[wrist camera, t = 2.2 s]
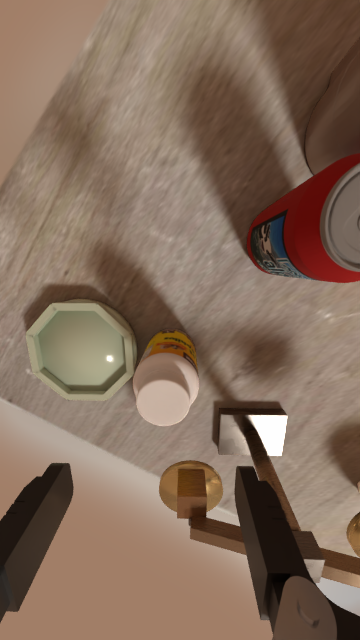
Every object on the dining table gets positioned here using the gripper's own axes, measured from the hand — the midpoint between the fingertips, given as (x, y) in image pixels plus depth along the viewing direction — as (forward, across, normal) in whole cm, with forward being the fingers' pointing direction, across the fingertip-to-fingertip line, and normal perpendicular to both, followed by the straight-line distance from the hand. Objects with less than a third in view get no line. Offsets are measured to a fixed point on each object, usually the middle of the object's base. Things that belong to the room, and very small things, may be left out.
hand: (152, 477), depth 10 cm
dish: (+16, +10, 0) cm, 19 cm away
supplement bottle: (+16, 0, 0) cm, 16 cm away
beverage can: (+15, -11, -12) cm, 23 cm away
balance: (+16, -10, +11) cm, 21 cm away
